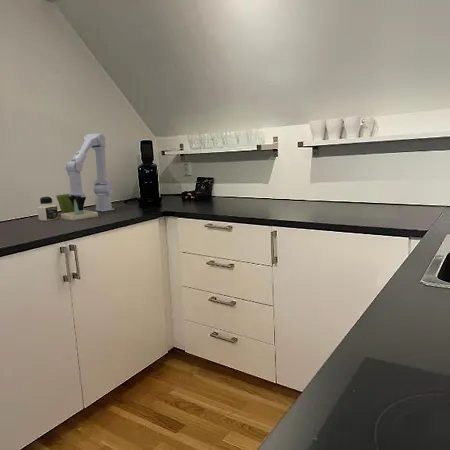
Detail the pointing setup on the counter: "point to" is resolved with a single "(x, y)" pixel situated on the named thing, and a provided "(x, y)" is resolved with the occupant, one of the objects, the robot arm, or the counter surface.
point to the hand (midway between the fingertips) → (78, 210)
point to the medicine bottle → (47, 209)
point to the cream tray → (74, 217)
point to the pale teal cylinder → (77, 209)
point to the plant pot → (65, 203)
